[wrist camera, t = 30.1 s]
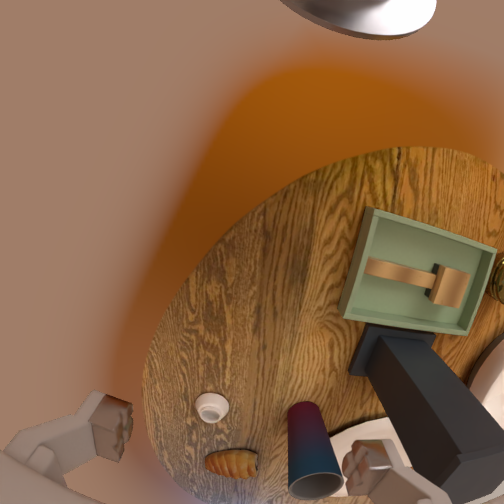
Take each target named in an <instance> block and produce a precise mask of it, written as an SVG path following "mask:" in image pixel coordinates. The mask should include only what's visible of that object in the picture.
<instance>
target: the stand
mask: <svg viewBox="0 0 504 504" xmlns="http://www.w3.org/2000/svg"><path fill="white" fill-rule="evenodd" d="M435 337H436V335H435V334H434V333H433V332H427V331H420V330H412V329H405V328H398V327H392V326H385V325H379V324H372V323H366V326H365V328H364V331H363V334H362V336H361V339H360V341H359V344H358V347H357V349H356V352H355V354H354V357H353V359H352V362H351V364H350V366H349V369H348V372H349V375H355V376H366V377H368V378H369V380H370V382H371V384H372V386H373V388H374V390H375V392H376V394H377V396H378V398H379V400H380V402H381V404H382V406H383V407H384V409H385V411H386V413H387V415H388V417H389V419H390V421H391V423H392V425H393V427H394V429H395V431H396V433H397V436H398V438H399V440H400V442H401V444H402V446H403V448H404V450H405V452H406V454H407V456H408V458H409V460H410V462H411V465H412V467H413V469H414V471H415V472H417V473H418V474H420V475H421V476H422V477H424V478H425V479H427V480H428V481H430V482H431V483H433V484H434V485H436V486H437V487H439V488H440V489H442V490H443V491H445V492H446V493H447V494H448V496H449V498H450V500H451V502H452V504H464V503H467V502H470V501H473V500H475V499H478V498H481V497H483V496H486V495H488V494H491V493H492V492H493V491H494V490H495V489H496V488H497V487H498V486H499V485H500V484H501V482H502V481H503V480H504V430H503V429H502V428H501V426H500V425H499V424H498V423H497V422H496V420H495V419H494V418H493V417H492V416H491V414H490V413H489V412H488V411H487V410H486V408H485V407H484V406H483V405H482V404H481V403H480V401H479V400H478V399H477V398H476V397H475V396H474V395H473V393H472V392H471V391H470V390H469V389H468V388H467V387H466V386H465V384H464V383H463V382H462V381H461V380H460V379H459V378H458V377H457V375H456V374H455V373H454V372H453V371H452V370H451V369H450V368H449V367H448V366H447V364H446V363H445V362H444V361H443V360H442V359H441V358H440V357H439V356H438V355H437V354H436V353H435V352H434V351H433V349H432V348H431V347H432V344H433V342H434V340H435Z"/></svg>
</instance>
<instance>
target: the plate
mask: <svg viewBox="0 0 504 504" xmlns="http://www.w3.org/2000/svg"><path fill="white" fill-rule="evenodd" d="M372 439H378V440H379V439H391V440H392V441H393V442H394V444H395V447H396V449H397V451H398V453H399V455H400V457H401V459H402V462H403V464H404V466H405V467H406V466H408V467H409V468H410V467H412V465H411V462H410V460H409V458H408V456H407V454H406V452H405V450H404V448H403V446H402V444H401V442H400V440H399V438H398V436H397V433H396V431H395V429H394V427H393V425H392V423H391V421H390V419H389V417H383V418H378V419H374V420H369V421H365V422H363V423H360V424H357V425H355V426H352V427H349V428H347V429H345V430H343V431H341V432H339V433H337V434H335V435H334V436H332V437H330V441H331V444H332V447H333V450H334V453H335V455H336V458H337V461H338V464H339V467H340V470H341V473H342V461H343V458H344V457H345V455H346V453H348V452H349V451H351V450H352V448H351V445H352V444H353V442H354V441H355V440H372ZM342 476H343V478H344V484H343V486H342V488H341V489H340V490H339V491H337V492H336V493H334V494H333V495H331V496H333V497H345V496H348V493H347V489H346V485H345V483H346V481H347V478H346V477H345V476H344V475H343V473H342Z"/></svg>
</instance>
